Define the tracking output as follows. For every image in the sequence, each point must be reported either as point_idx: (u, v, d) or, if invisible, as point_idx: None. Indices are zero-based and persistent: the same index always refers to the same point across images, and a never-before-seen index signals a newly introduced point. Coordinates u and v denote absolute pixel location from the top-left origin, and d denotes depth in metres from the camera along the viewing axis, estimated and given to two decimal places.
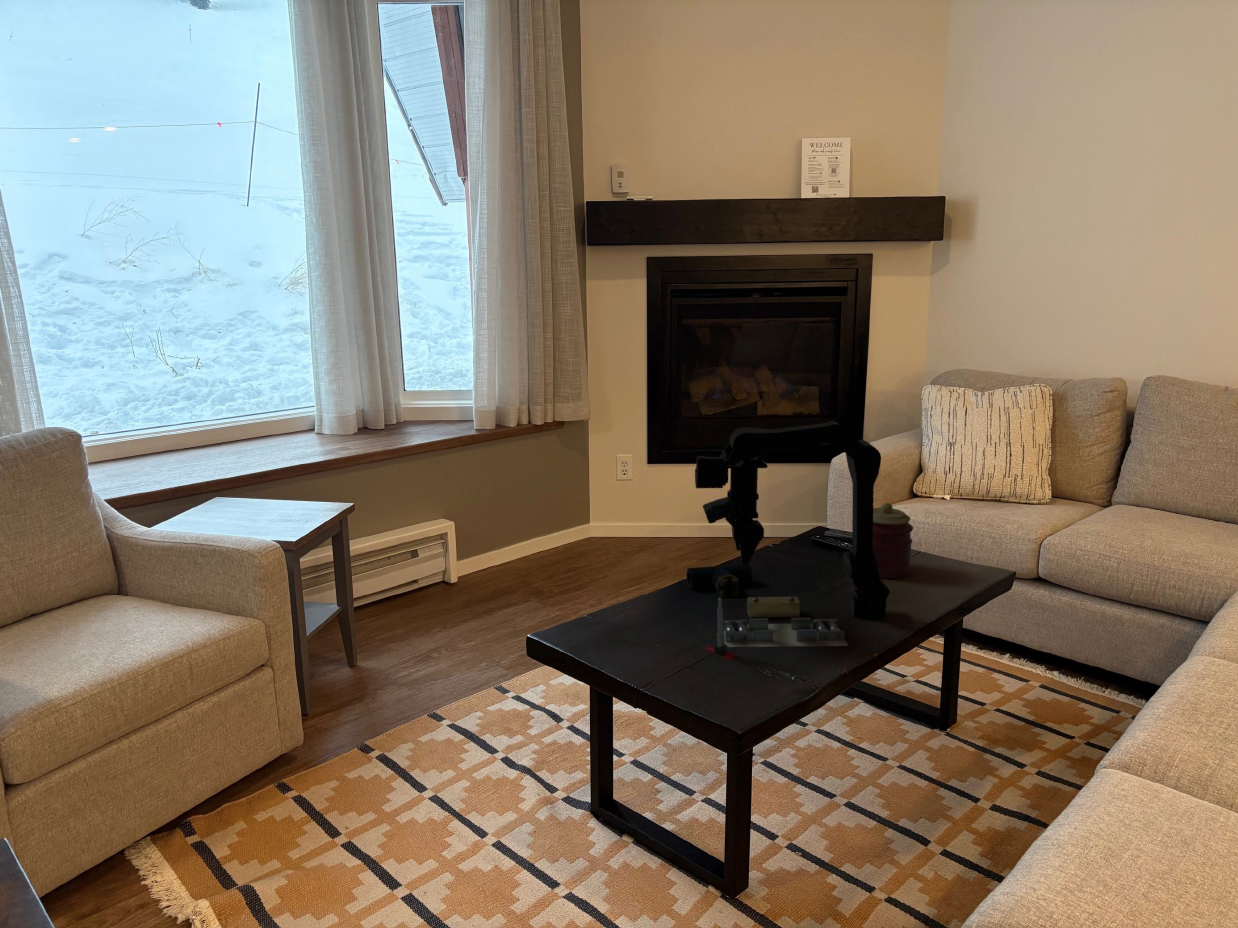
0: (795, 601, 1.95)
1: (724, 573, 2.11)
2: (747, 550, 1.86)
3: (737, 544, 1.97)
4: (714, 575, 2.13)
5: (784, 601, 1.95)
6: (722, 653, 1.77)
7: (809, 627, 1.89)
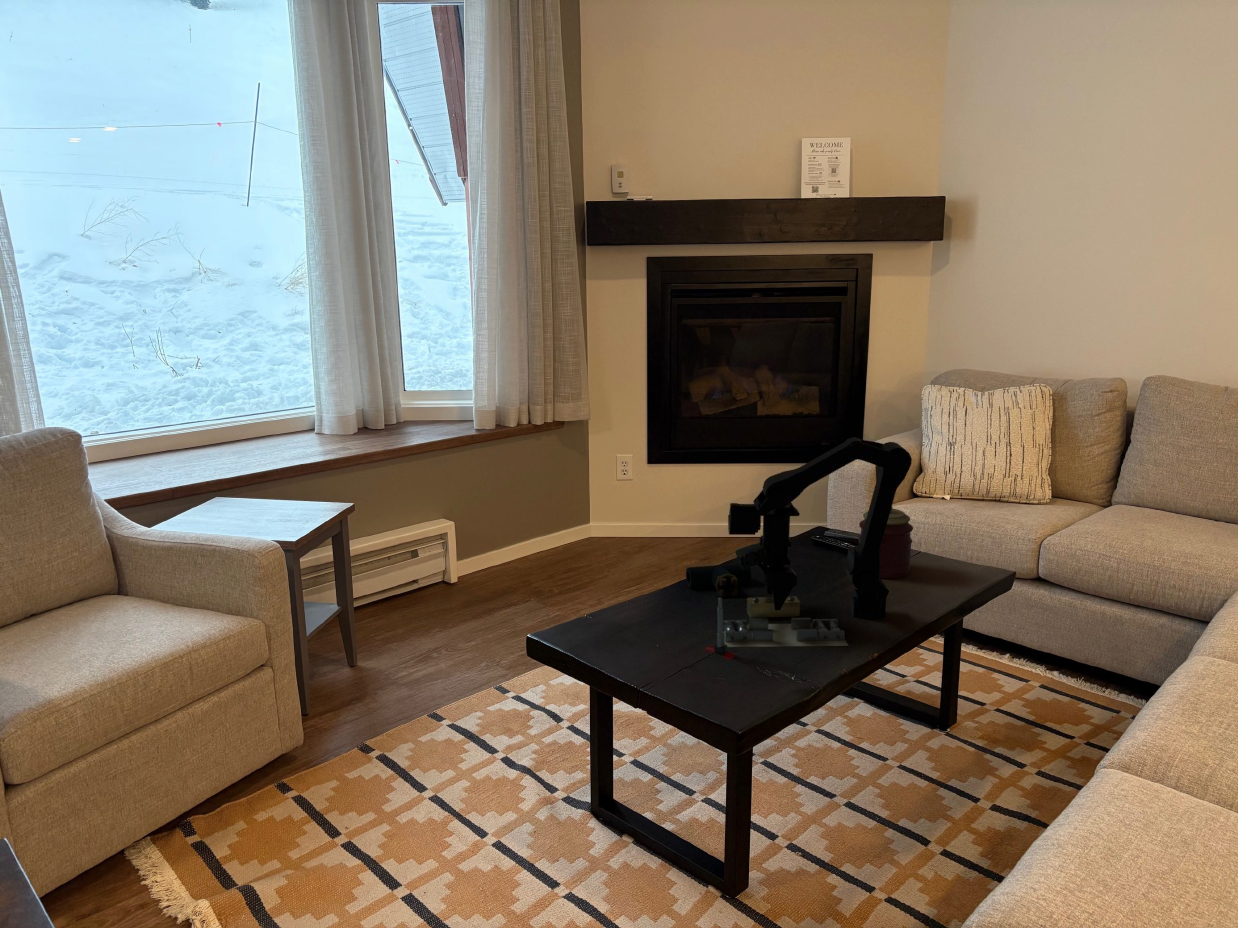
0: (795, 601, 1.95)
1: (723, 572, 2.12)
2: (780, 596, 1.90)
3: (768, 588, 2.00)
4: (713, 574, 2.13)
5: None
6: (722, 653, 1.77)
7: (809, 627, 1.89)
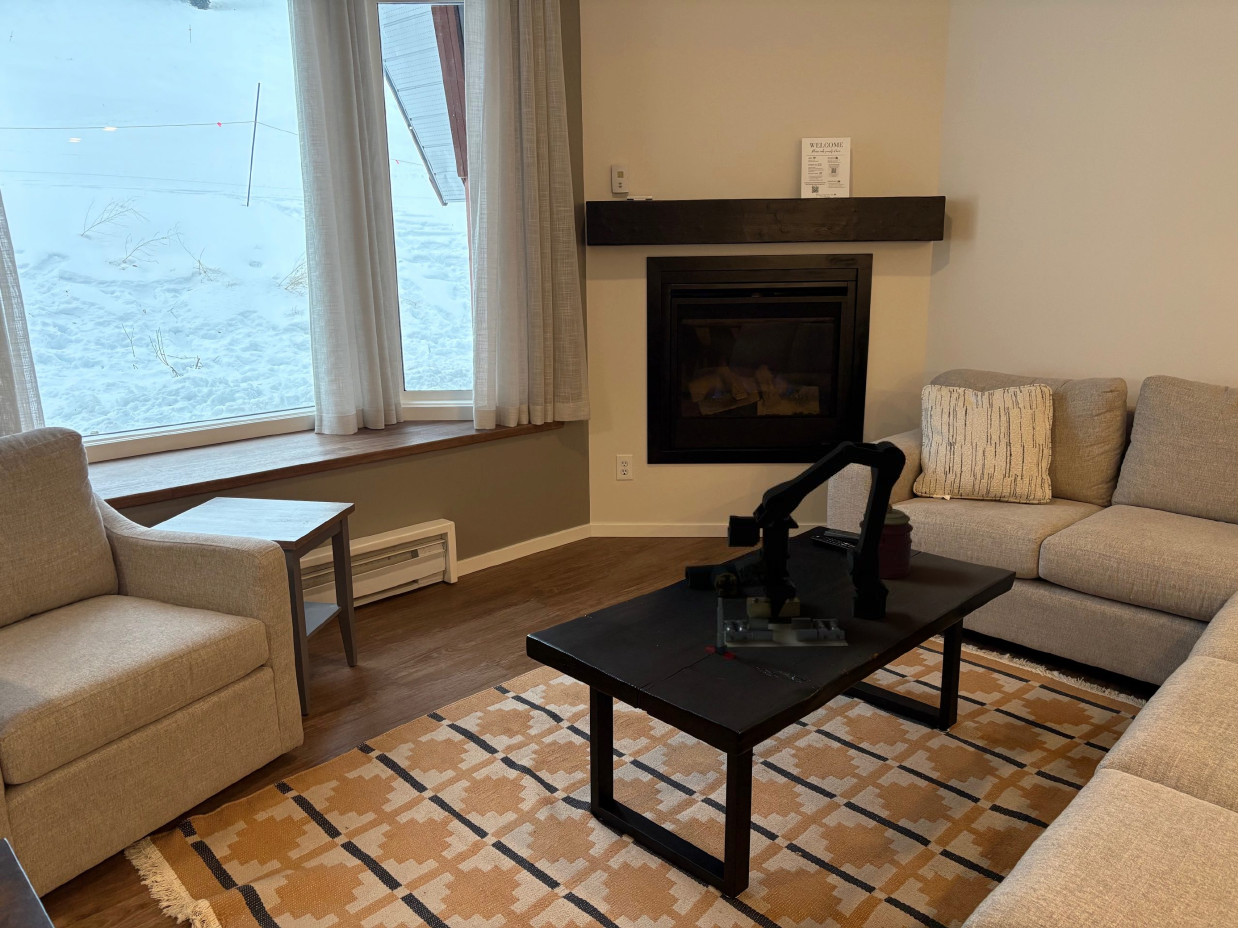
0: (794, 600, 1.96)
1: (722, 571, 2.12)
2: (777, 604, 1.93)
3: None
4: (712, 573, 2.14)
5: None
6: (722, 653, 1.77)
7: (809, 627, 1.89)
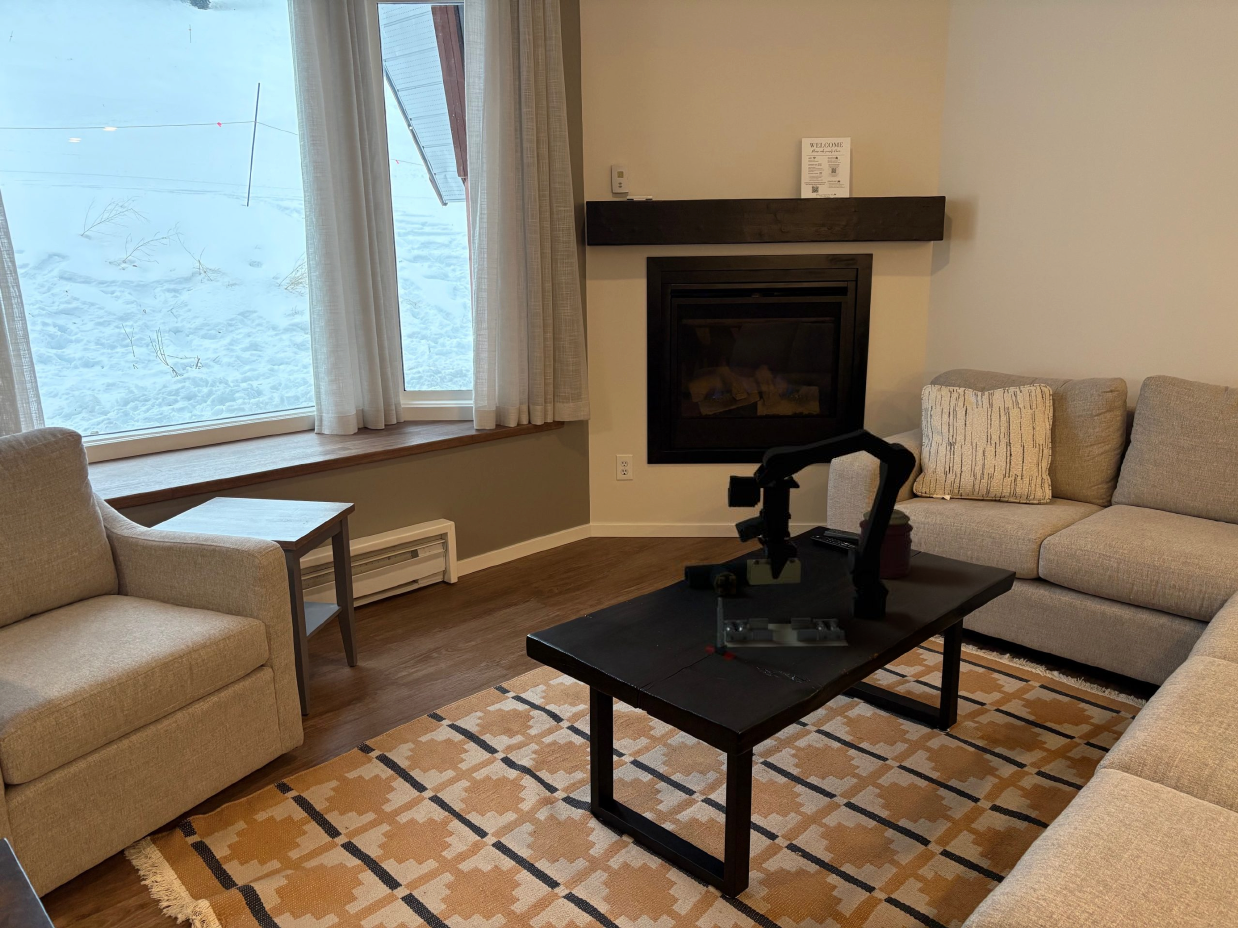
0: (795, 562, 1.93)
1: (721, 570, 2.13)
2: (777, 565, 1.91)
3: None
4: (712, 573, 2.14)
5: None
6: (722, 653, 1.77)
7: (809, 627, 1.89)
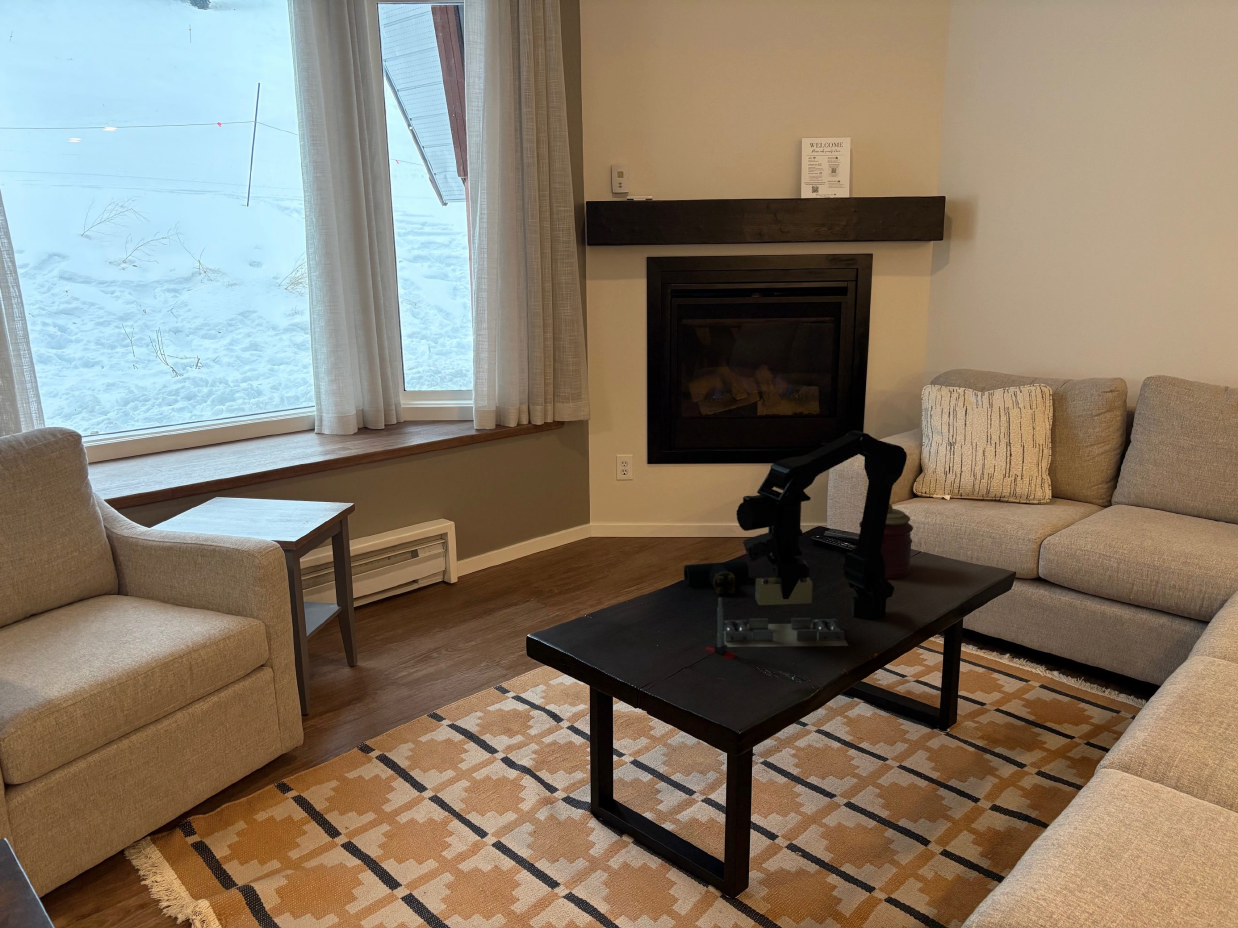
0: (807, 581, 1.83)
1: (720, 569, 2.13)
2: (788, 584, 1.80)
3: None
4: (711, 572, 2.15)
5: None
6: (722, 653, 1.77)
7: (809, 627, 1.89)
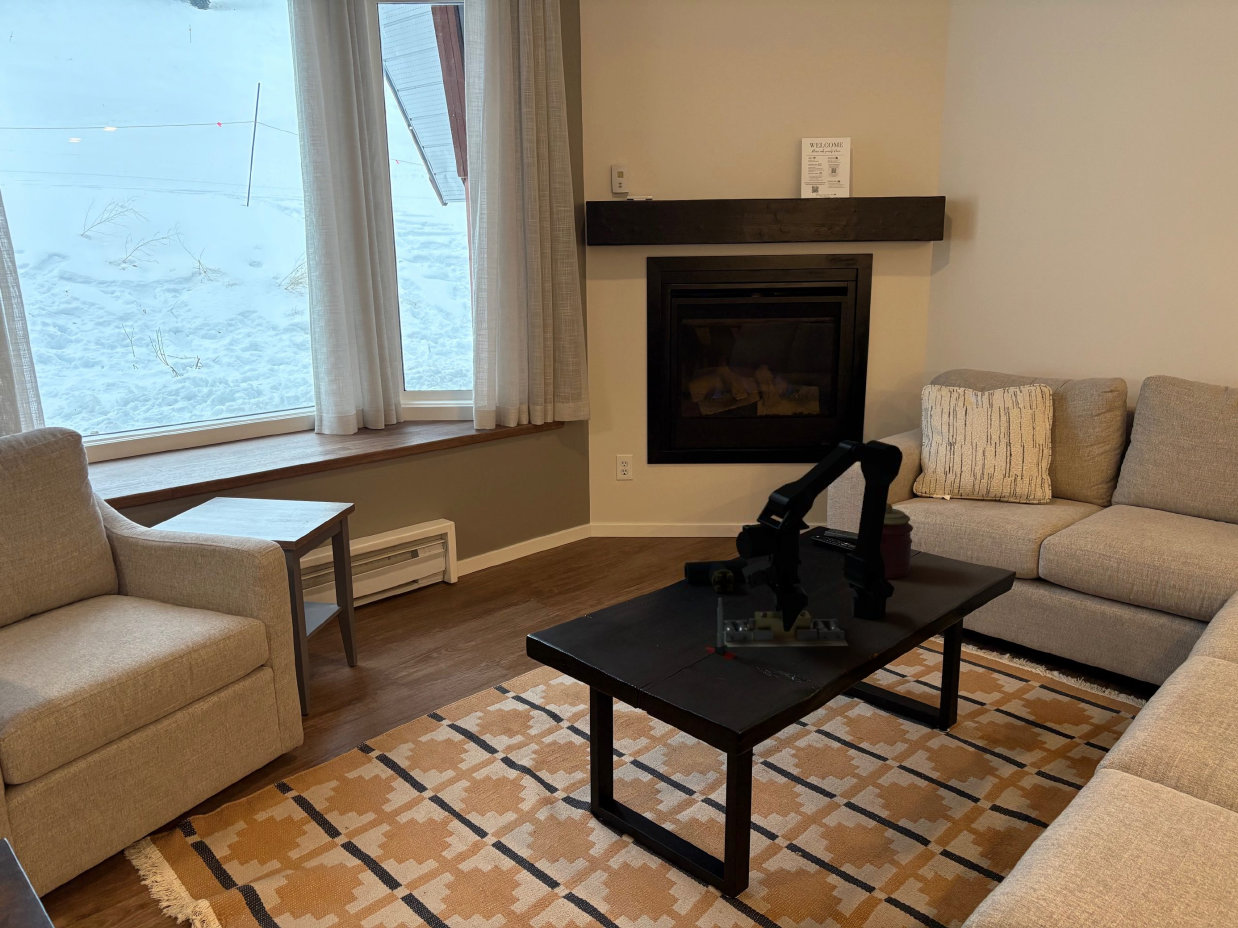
0: (805, 616, 1.84)
1: (719, 567, 2.15)
2: (789, 617, 1.79)
3: (777, 607, 1.90)
4: (710, 570, 2.16)
5: None
6: (722, 653, 1.77)
7: None
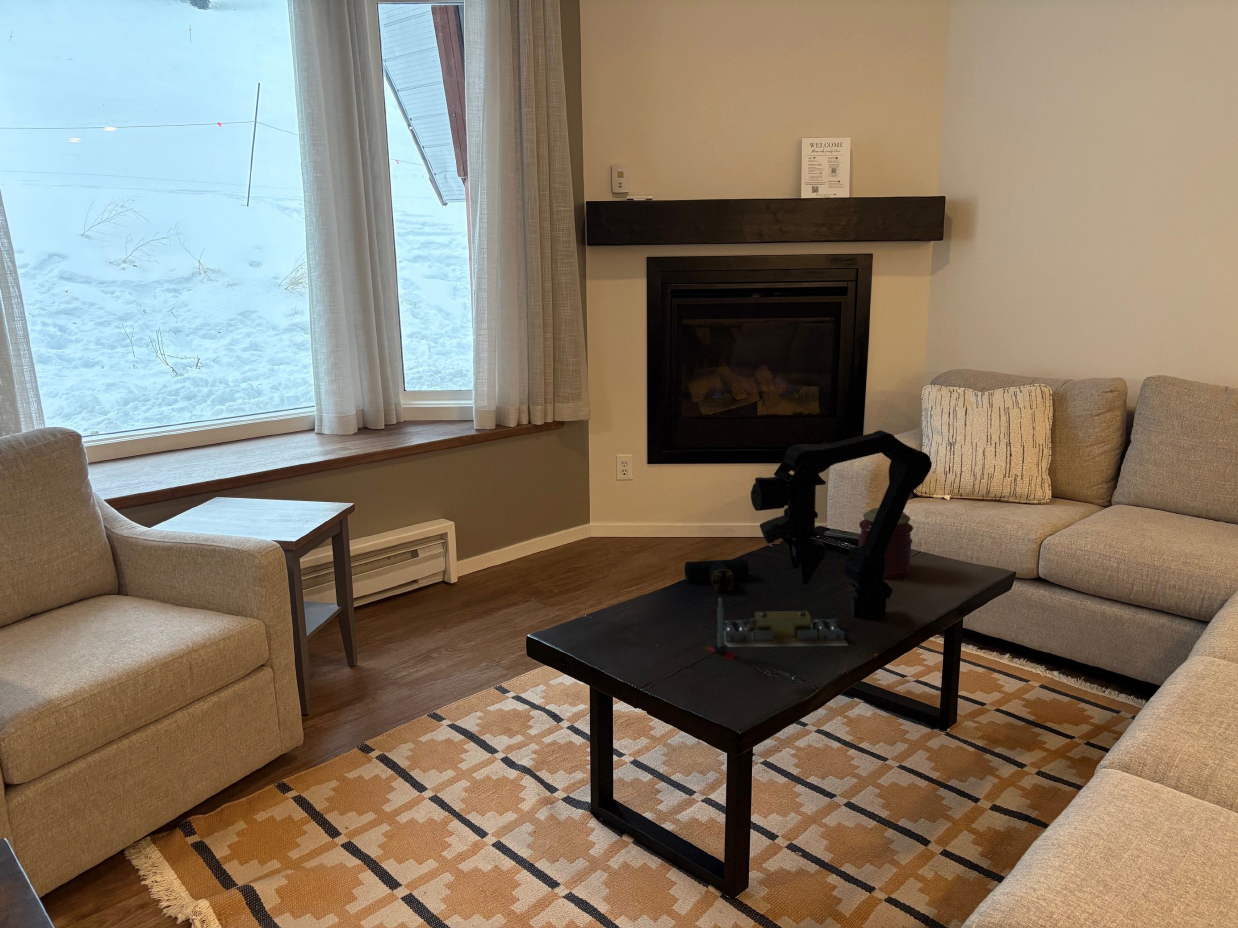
0: (805, 616, 1.84)
1: (719, 567, 2.15)
2: (808, 569, 1.83)
3: (793, 562, 1.94)
4: (710, 569, 2.17)
5: (794, 616, 1.84)
6: (722, 653, 1.77)
7: None
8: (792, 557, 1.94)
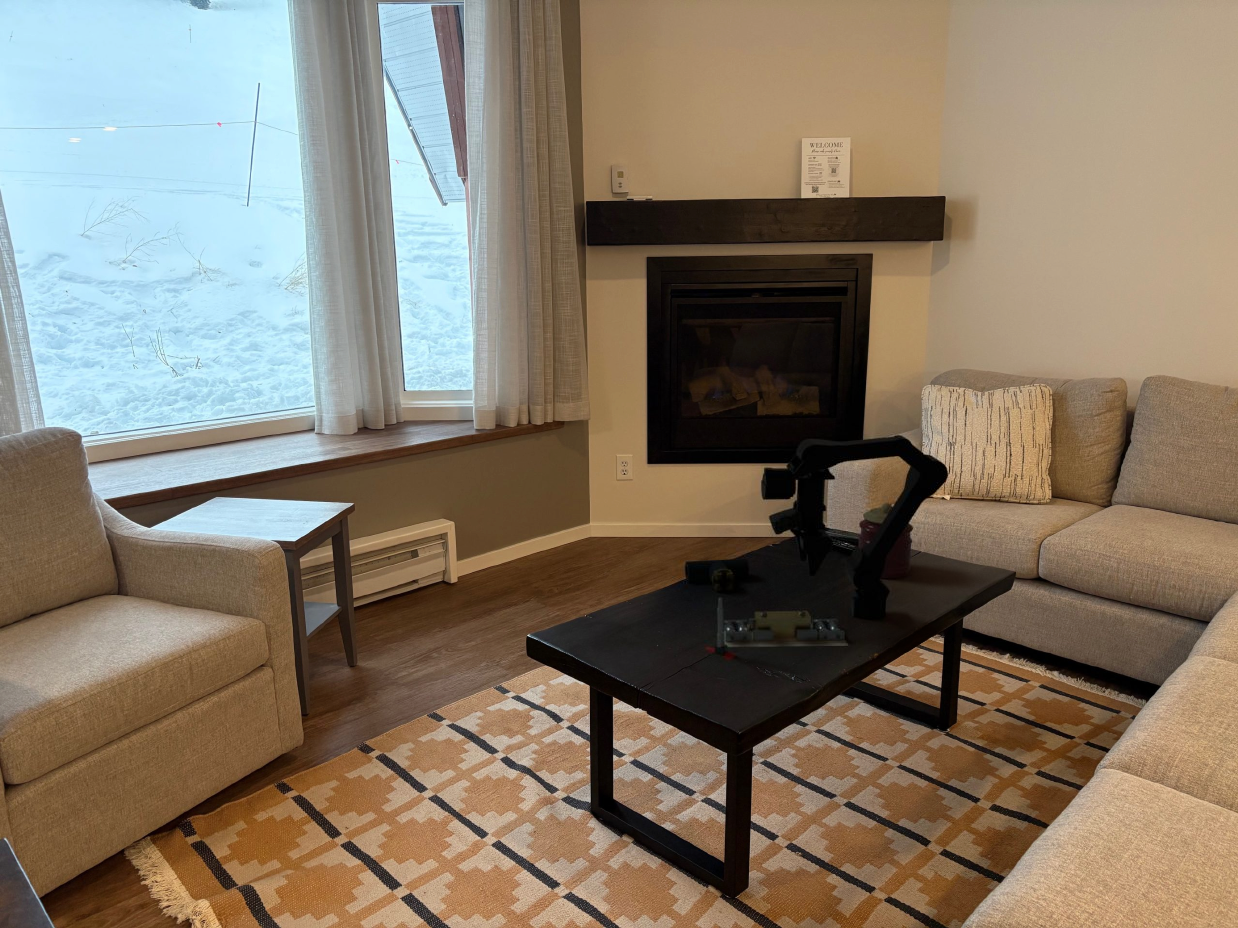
0: (805, 616, 1.84)
1: (720, 566, 2.15)
2: (815, 561, 1.87)
3: (801, 555, 1.97)
4: (711, 569, 2.17)
5: (794, 616, 1.84)
6: (722, 653, 1.77)
7: None
8: (800, 550, 1.97)
